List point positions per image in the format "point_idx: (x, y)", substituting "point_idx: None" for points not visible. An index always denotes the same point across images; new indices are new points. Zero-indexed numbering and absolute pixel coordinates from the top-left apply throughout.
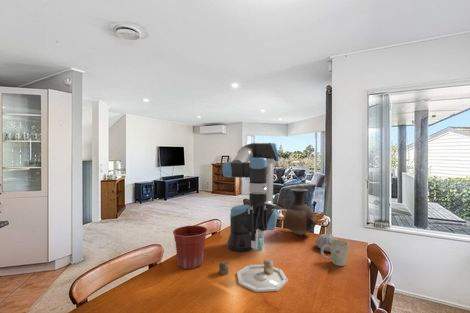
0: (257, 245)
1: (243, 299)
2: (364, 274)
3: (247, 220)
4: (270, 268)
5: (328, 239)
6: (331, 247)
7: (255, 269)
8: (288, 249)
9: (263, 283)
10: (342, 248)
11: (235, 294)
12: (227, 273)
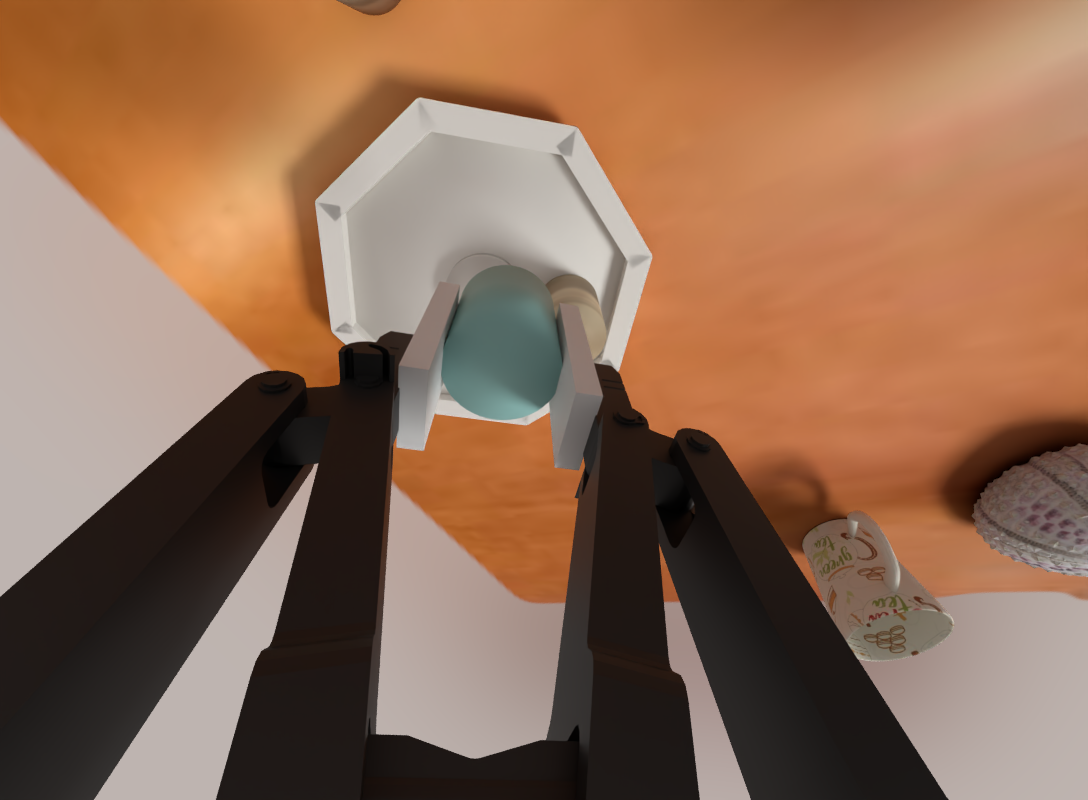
0: None
1: (258, 280)
2: None
3: (63, 545)
4: None
5: (1060, 550)
6: (867, 592)
7: (564, 207)
8: (1031, 287)
9: None
10: None
11: (252, 217)
12: (362, 10)
